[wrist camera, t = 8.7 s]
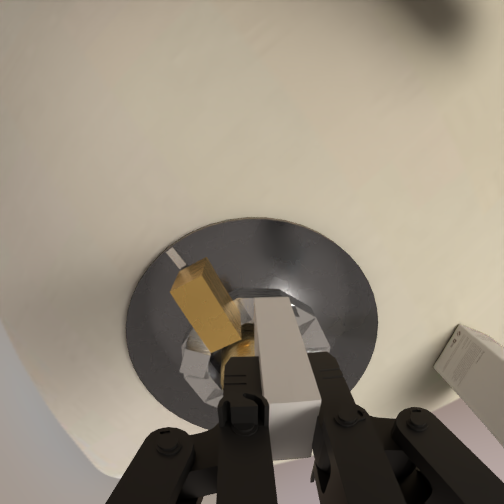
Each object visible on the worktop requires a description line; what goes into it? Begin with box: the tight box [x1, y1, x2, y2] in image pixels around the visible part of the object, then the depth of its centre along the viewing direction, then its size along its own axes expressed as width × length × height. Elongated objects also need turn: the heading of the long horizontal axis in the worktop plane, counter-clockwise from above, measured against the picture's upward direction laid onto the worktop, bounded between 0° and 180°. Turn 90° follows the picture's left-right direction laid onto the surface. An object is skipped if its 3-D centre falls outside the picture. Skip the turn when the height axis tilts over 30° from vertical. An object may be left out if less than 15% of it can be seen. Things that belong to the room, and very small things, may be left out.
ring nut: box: [170, 257, 330, 408], centre depth 25 cm, size 17×13×6 cm
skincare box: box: [433, 324, 504, 448], centre depth 25 cm, size 8×7×16 cm
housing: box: [126, 217, 378, 430], centre depth 27 cm, size 24×24×6 cm
